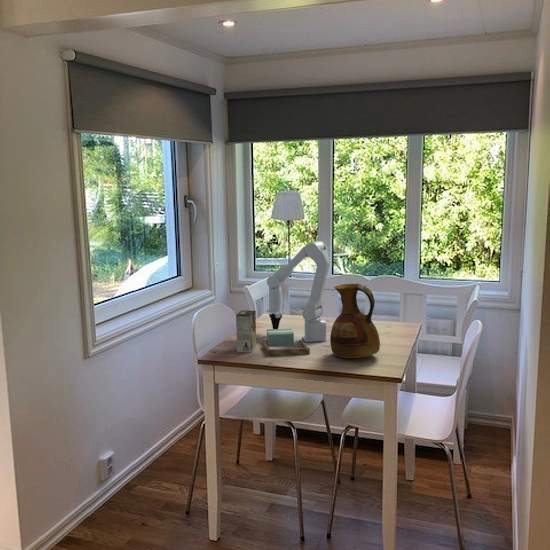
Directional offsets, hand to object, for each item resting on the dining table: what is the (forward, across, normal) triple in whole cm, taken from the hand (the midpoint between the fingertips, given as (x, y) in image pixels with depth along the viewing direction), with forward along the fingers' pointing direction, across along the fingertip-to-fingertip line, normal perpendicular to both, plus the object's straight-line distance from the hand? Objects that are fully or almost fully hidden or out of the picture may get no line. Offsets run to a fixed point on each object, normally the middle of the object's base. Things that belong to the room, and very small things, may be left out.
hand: (275, 329), depth 275 cm
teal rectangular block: (+3, +12, 0) cm, 12 cm away
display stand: (+2, +25, 0) cm, 25 cm away
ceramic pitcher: (+3, +39, +26) cm, 47 cm away
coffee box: (+3, +21, -16) cm, 26 cm away
